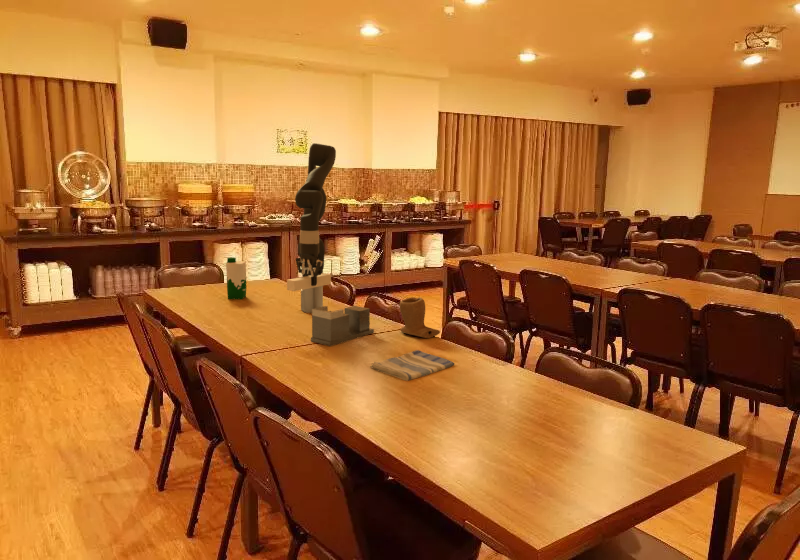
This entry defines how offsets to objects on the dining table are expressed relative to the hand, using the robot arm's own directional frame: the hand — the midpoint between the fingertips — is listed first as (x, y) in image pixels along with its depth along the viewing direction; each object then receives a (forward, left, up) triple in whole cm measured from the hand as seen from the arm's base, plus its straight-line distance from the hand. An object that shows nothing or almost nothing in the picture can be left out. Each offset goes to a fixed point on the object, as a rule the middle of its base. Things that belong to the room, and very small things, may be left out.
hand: (309, 284), depth 241 cm
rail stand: (+16, +2, -19) cm, 25 cm away
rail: (0, 0, -1) cm, 1 cm away
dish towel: (+58, -10, -20) cm, 62 cm away
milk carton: (-72, +20, -19) cm, 77 cm away
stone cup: (+36, +23, -19) cm, 47 cm away
